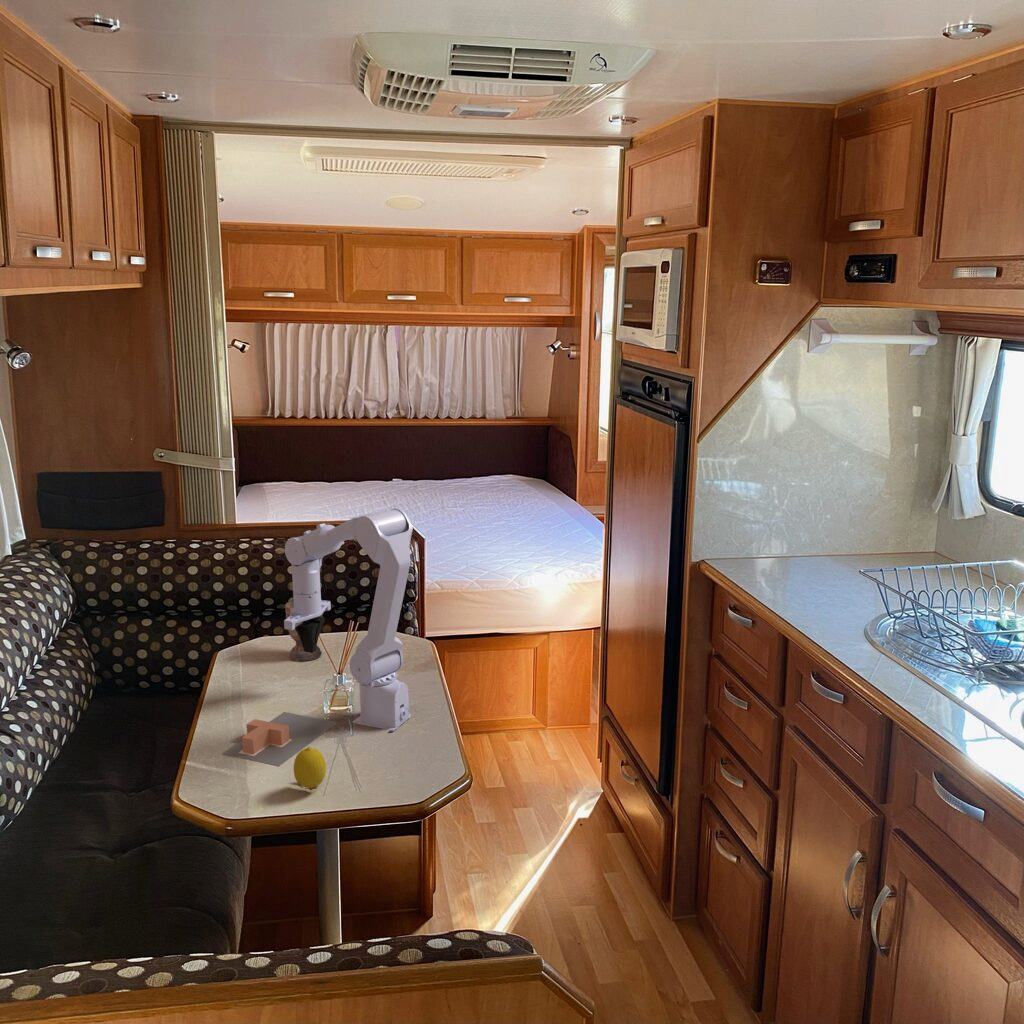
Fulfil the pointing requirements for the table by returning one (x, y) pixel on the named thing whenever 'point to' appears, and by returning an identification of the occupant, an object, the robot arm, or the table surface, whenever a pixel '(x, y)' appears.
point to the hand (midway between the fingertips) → (309, 651)
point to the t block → (264, 735)
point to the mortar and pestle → (298, 651)
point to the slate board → (300, 736)
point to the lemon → (309, 768)
